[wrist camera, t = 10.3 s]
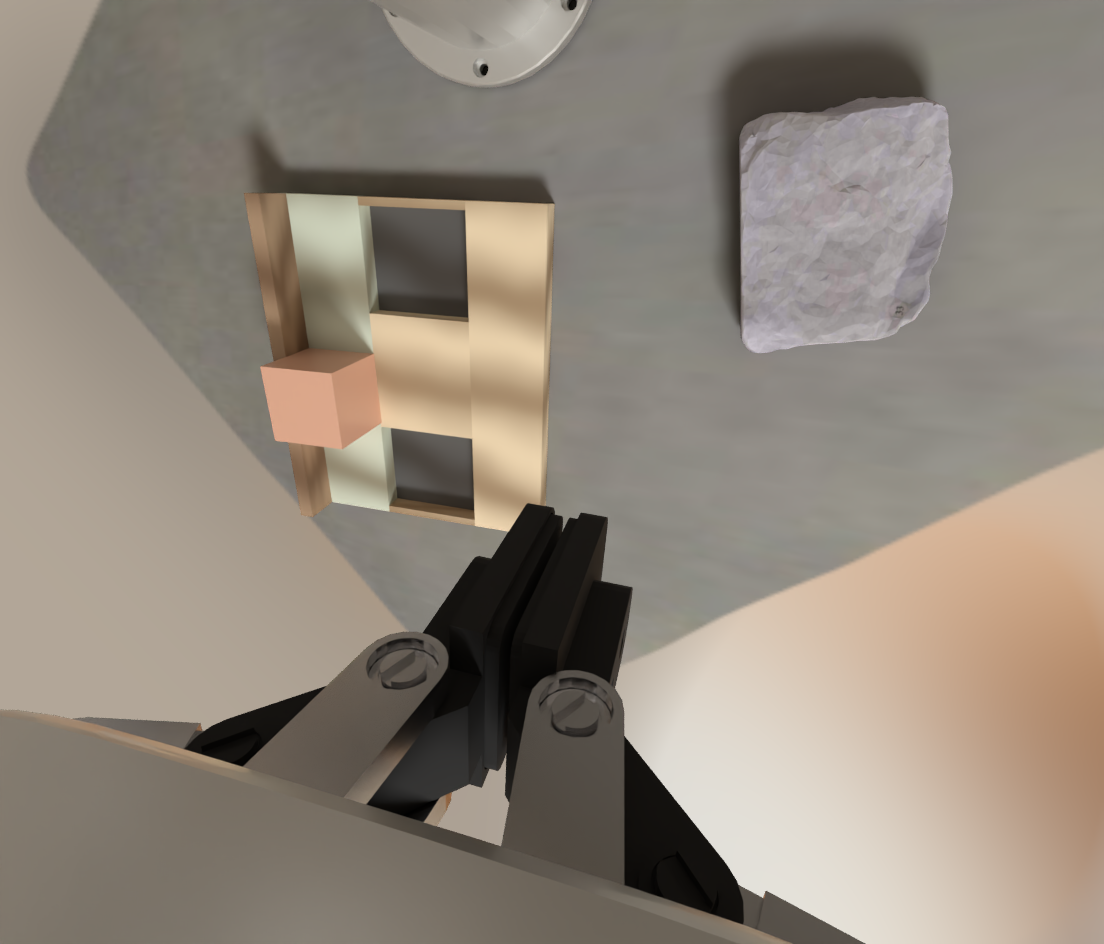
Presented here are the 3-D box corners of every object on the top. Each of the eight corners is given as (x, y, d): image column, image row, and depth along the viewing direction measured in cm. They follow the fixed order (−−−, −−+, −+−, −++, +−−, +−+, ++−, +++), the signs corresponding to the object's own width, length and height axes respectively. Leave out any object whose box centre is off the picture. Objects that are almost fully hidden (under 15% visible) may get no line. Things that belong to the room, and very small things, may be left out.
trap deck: (287, 192, 39) (243, 193, 35) (554, 203, 35) (535, 205, 31) (331, 491, 48) (301, 515, 45) (545, 526, 44) (529, 555, 41)
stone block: (922, 86, 30) (720, 124, 31) (980, 69, 25) (742, 114, 27) (901, 322, 35) (728, 347, 36) (946, 341, 30) (748, 369, 32)
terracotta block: (309, 348, 41) (260, 366, 37) (374, 353, 40) (331, 373, 36) (320, 415, 43) (275, 440, 39) (381, 422, 42) (342, 449, 38)
